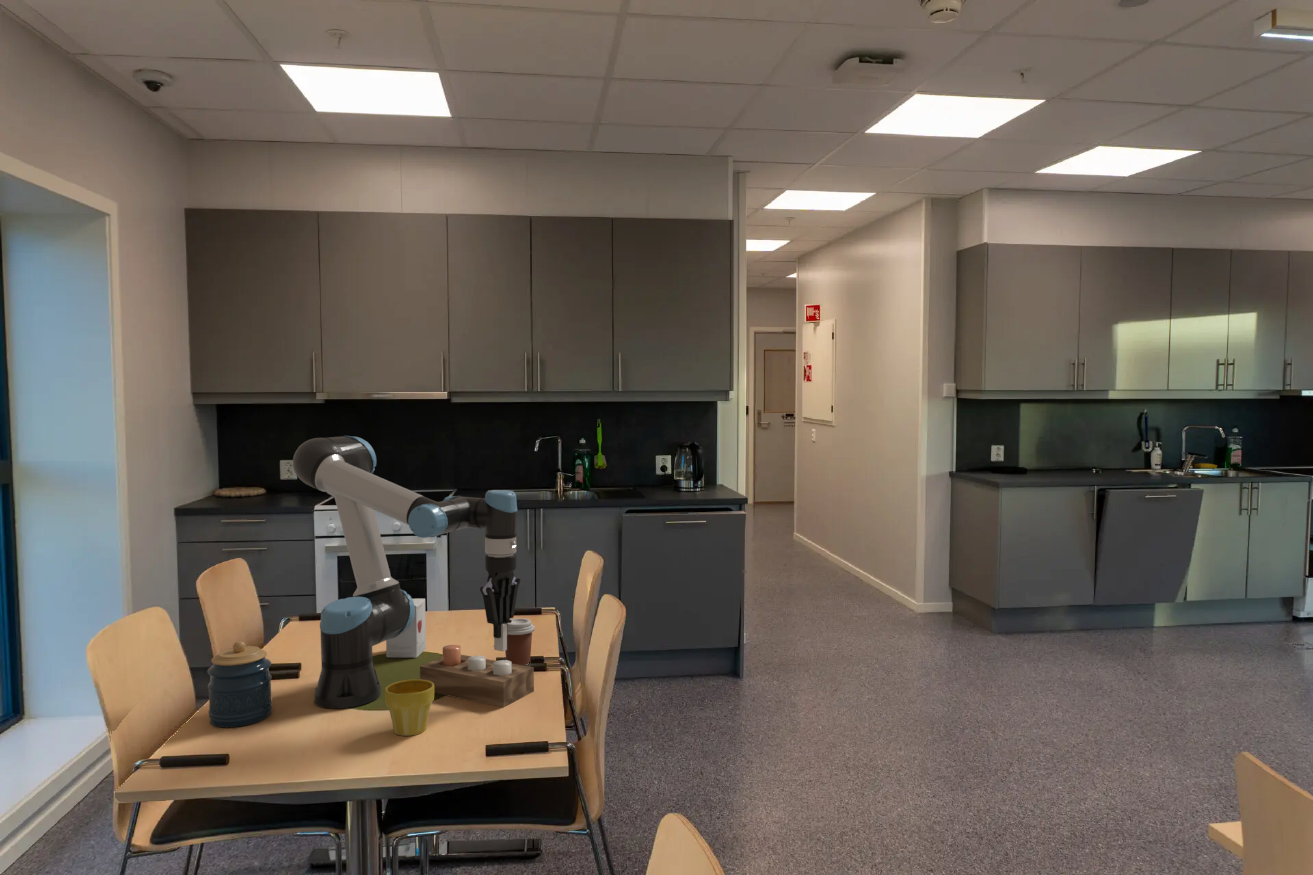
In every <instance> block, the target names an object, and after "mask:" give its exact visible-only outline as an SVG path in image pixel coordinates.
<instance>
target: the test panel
mask: <svg viewBox="0 0 1313 875" xmlns="http://www.w3.org/2000/svg"><path fill="white" fill-rule="evenodd" d="M472 656H473V655H472ZM472 656H471V655H467V654H461V664H458V665H456V666H454V667H451V666H446V665H443V656H441V657H440V658H437V659H434V660H433V661H429V662H427V663H425V664H422V665H420V666H419V677H420V678H419V679H422V680H428V681H431V682H433V684H434V694H439V695H442V696H443V695H444V696H448V697H454V698H458V699H463V700H467V701H472V702H477V703H483V704H486V705H487V704H488V705H491V706H496V707H501V708H505V707H507V706H510V705H511V704H512V703H515V702H516V701H518V700H520V699H522V698H524V697H526V696H528V695H530V694H531V693H533V692H535V678H534V676H535V674H534V669H535V668H534V666H530V665H529V666H523V665H518V664H512V663H511V665H512V673H511V674H508V675H506V676H499V675H494V674H493V663H494V662H496V661H497V660H494V659H489V658H486V668H485V669H483V670H481V671H472V670H468V658H469V657H472Z"/></svg>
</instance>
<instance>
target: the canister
mask: <svg viewBox="0 0 1313 875" xmlns="http://www.w3.org/2000/svg"><path fill="white" fill-rule="evenodd" d="M267 654H268V653H267V651H266V650H264V649H262V648H260V647H258V646H254V645H246V643H245V642H244V641H241V640H238V641H235V642H234V643H233V645H232V647H230V648H227V649H224V650H221V651H220V652H218V654H217V655H214V657H212V658H211V663H212V664H213V665H211V666H210V667H209V668H208V669H207V671H206V672H207V675H209V676H210V678H209V679H210V680H209V682H208V685H207V688H208V700H209V701H208V703H209V704H208V706H209V709H208V719H209V722H210V725H212V726H214V727H217V728H238V727H243V726H248V725H251V724H252V725H253V724H256V723H258V722H261V721H263V720H266V719H267V718H268V717H269V716H271V713H272V709H273V701H272V684H271V683H272V674H270V670H269V668H270V667H271V665H272V661H271V660H270V659H268V658H266V657H267Z"/></svg>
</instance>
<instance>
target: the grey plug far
mask: <svg viewBox="0 0 1313 875" xmlns="http://www.w3.org/2000/svg"><path fill="white" fill-rule="evenodd" d="M495 661H496V662H494V663H493V674H494V675H499V676H506V675H508V674H511V673H512V665H511V661H508V660H506V659H502V660H495Z"/></svg>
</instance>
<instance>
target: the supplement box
mask: <svg viewBox="0 0 1313 875" xmlns="http://www.w3.org/2000/svg"><path fill="white" fill-rule="evenodd" d="M412 600H413V602H414V607H415V615H414V619H413V622H412V623H411V625H410V627H409V628H408V629H407V630H406V631H405V632H403V633H401V634H400V635H398V636H397V637H395V638H391V639H388V640H386V641H385V645H386V646H385V651H386V653H385V654H386V656H385V657H386V658H401V659H402V658H410V659H411V658H414V659H415V658H416V659H417V658H418V657H419V656H420V655H421V654H423V652H424V651H425V650H426V649H427V645H426V644H427V643H426V642H427V637H426V636H427V632H426V631H427V630H426V629H427V628H426V626H427V625H426V598H412Z"/></svg>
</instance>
